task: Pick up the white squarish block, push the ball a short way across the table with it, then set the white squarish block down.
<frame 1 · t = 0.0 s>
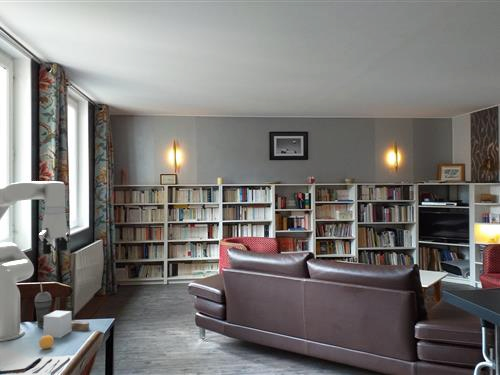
hand: (55, 252, 159), 37 cm above the table, tool pointing down, fingers open, 9 cm apart
white squarish block: (57, 333, 166), on the table
ball: (46, 341, 151), on the table
beverage cup: (43, 325, 176), on the table
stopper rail: (77, 329, 171), on the table
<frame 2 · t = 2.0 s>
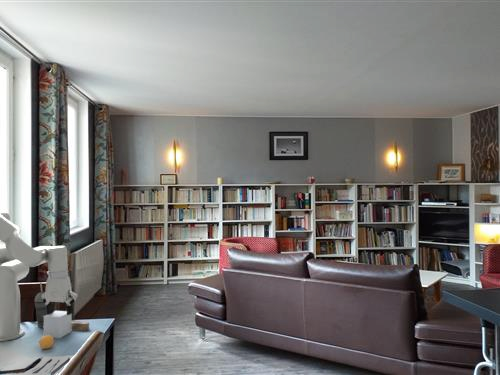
hand: (60, 313, 166), 9 cm above the table, tool pointing down, fingers open, 9 cm apart
white squarish block: (57, 334, 166), on the table, touching gripper
everything else where it was.
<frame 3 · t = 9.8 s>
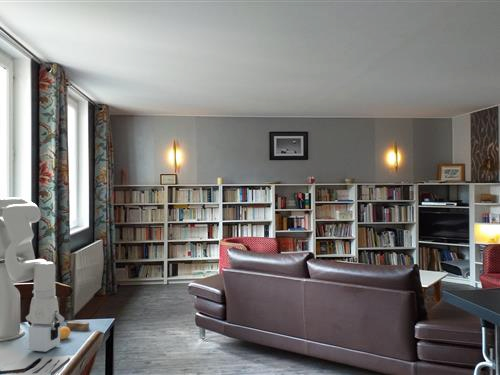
hand: (45, 337, 150), 4 cm above the table, tool pointing down, fingers closed on white squarish block, 7 cm apart
white squarish block: (44, 346, 150), point 1 cm above the table, touching gripper
ball: (63, 332, 160), on the table
everything else where it was.
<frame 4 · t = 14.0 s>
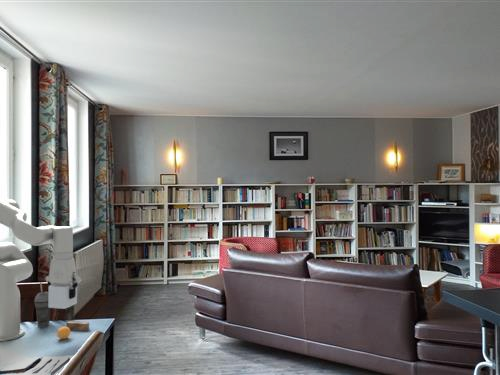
hand: (63, 297, 161), 17 cm above the table, tool pointing down, fingers closed on white squarish block, 7 cm apart
white squarish block: (62, 305, 161), point 14 cm above the table, touching gripper
everything else where it was.
when the fingers open (3 cm above the table, at t = 17.5 s): white squarish block stays where it is, on the table.
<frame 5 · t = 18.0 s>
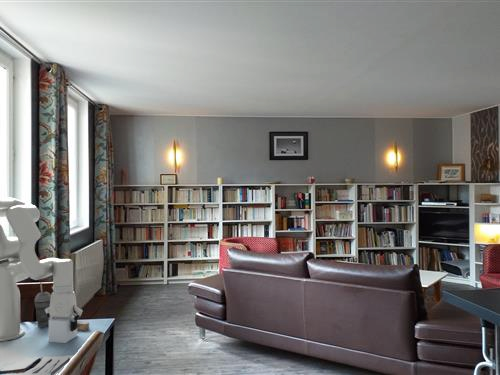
hand: (63, 329, 161), 4 cm above the table, tool pointing down, fingers open, 9 cm apart
white squarish block: (63, 338, 160), on the table
everything else where it was.
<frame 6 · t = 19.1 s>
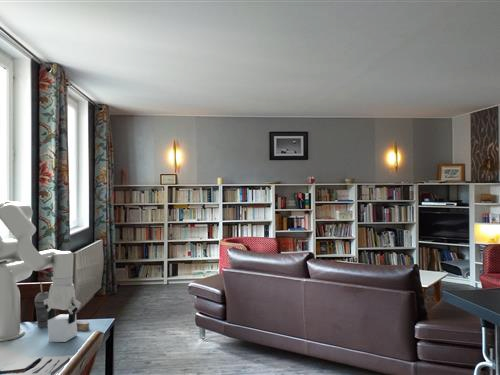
hand: (61, 321, 161), 7 cm above the table, tool pointing down, fingers open, 9 cm apart
nothing on the table moved.
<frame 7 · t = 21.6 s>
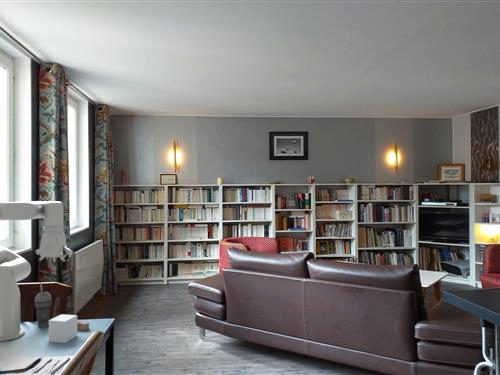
hand: (54, 269, 164), 28 cm above the table, tool pointing down, fingers open, 9 cm apart
nothing on the table moved.
at the end: ball 0.2 cm from the white squarish block (horizontally); white squarish block on the table; ball moved 9.7 cm from its start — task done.
